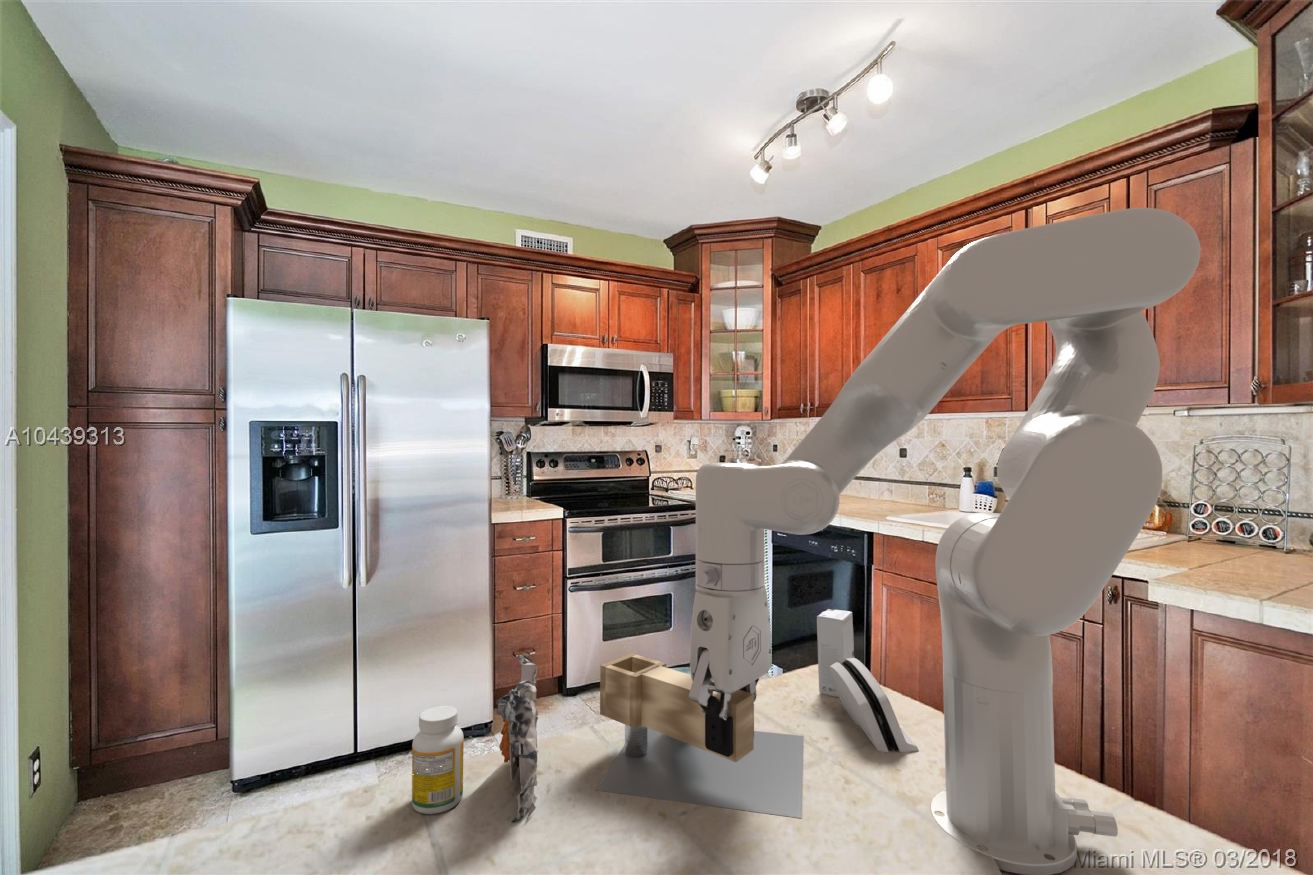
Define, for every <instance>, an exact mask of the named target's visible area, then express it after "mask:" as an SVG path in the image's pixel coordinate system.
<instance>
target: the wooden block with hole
mask: <svg viewBox="0 0 1313 875" xmlns="http://www.w3.org/2000/svg"><path fill="white" fill-rule="evenodd" d="M599 667H600V671H599V673H600V677H599V680H600V682H599V684H600V685H599V688H600V689H599V692H600V693H599V696H600V697H599V715H601V716H603V717H605V718H608V719H610V720H613V721H616V722H618V723H621V724H623V725H624V726H625V725H628V726H630V727H633V728H637V727H639V726H641V725H642V726H645V727H647V728H650V729H652V730H655V731H657V732H660V733H662V734H665V735H667V736H670V737H672V738H675V739H677V740H680V741H683V742H685V743H688V744H690V745H693V746H695V747H698V748H700V749H703V750H705V751H708V752H710V753H713V754H715V755H718V756H721V757H723V758H726V759H728V760H731V761H733V762H738V761H739V760H740V759H742V758H743V757H744V756H746V755H747V754H748V753H750V752H751V751H752V750H753V749H754V731H755V702H754V694H752V693H748V692H745V691H742V690H737V691H736V692H734V693H731V698H730V711H729V716H730V717H733V754H732V755H731V756H729V757H726V756H724V755H721V754H718V753H716V752H713V751H711V750H708V749H707V748H706V747H705V713H703V712H702V707H701V706H700V705H699V704H698V703H696V702H694V701H692V700H690V699H689V693H690V689H691V686H692V683H693V681H692V678H691V675H689V674H686V673H682V672H679V671H676V670H673V669H669V667H667V663H666V662H663V661H659V660H656V659H652V658H649V657H645V656H642V655H639V654H635V653H632V652H631V653H628V654H626V655H623V656H621V657H618V658H616V659H615V658H614V659H613V660H611V661H607V662H606V663H603V664H600V666H599ZM713 696H715V697H716V698H717V699H718V700H719V702H720V696H721V693H718V692H715V691H713Z"/></svg>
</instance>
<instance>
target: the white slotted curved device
mask: <svg viewBox="0 0 1313 875" xmlns="http://www.w3.org/2000/svg"><path fill="white" fill-rule="evenodd" d="M842 663H843V664H842ZM842 663H838V662H836V663H834V664H833V665H831V666H830V667H829V668H830V671H831V674H832V676H833V679H834V682H835V685H836V688H837V691H838V693H839V696H840V698H839V699H840V701H841V704H842V707H843V709H844V710H845V711H846V712H847V715H849V716H850V718H851V719H852V721H853V722H854V724H855V726H860V728H861V730H862V731H863V732H864V734H865V735H866V736H867V738H868V740H870V742H871V744H872V745H873V746H874V748H875V749H876V750H877V752H885V753H889V752H893V751H892V748H893V749H894V751H895V752H900V753H906V752H909V753H910V752H911V753H912V752H919V747H918V746H917V745H916V743H914V742H913V740H912V739H911V738H910V737H909V736H908V734H907V733H906V732H905V731H904V730H903V729H902V728H901V726H900V724H899V723H900V722H898V719H897V717H896V713H895V711H894V709H893V706H892V705H891V704H892V703H891V702H890V700H889V697H888V696H887V694H886V693H885V691H884V690H883V688H882V687H881V685H880V683H879V682H878V681H877V680H876V678H875V677H874V675H873V674H872V673H871V672H870V670H869V669H868V667H866V666H865V664H864V663H862V662H861V660H859V659H857V658H855V657H854V658H849V659H844V662H842Z"/></svg>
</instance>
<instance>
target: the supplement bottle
mask: <svg viewBox="0 0 1313 875" xmlns="http://www.w3.org/2000/svg"><path fill="white" fill-rule="evenodd" d="M458 720H459V719H458V709H457V708H456V707H455V706H450V705H439V706H433V707H429V708H427V709H425V710H423V711H422V712H421V713H420V714H419V717H418V727H419V731H418V732H417V734H416V735H415V736H414V737H413V740H412V742H411V743H412V745H411V748H412V749H411V754H412V755H411V758H412V759H411V761H412V762H411V769H412V770H411V776H412V777H411V800H412V802H411V805H412V808H413V809H414V811H416V812H418V813H419V814H424V815H437V814H440V813H444V812H447V811H449V810H452V809H453V808H454V807H456V806H457V805H458V804H459V803H460V802H461V800H462V799H463V795H464V743H465V742H464V731H463V730H462V729H461V727H459V726H458V725H457V724H458ZM440 766H442V767H440ZM426 769H428V770H426ZM417 773H418V774H417ZM412 774H414V775H412Z"/></svg>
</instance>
